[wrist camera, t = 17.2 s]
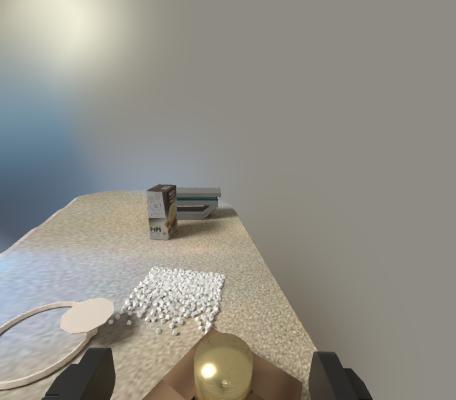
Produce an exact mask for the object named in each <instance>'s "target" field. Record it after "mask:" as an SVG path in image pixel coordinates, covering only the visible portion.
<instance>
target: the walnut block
mask: <svg viewBox="0 0 456 400" xmlns="http://www.w3.org/2000/svg"><path fill="white" fill-rule="evenodd" d="M219 333H220V332H218V331H217V330H215V329H213V328H211V329H210V330H209V331H208V332H207V333H206V334H205V335H204V336H203V337H202V338H201V339H200V340H199V341H198V342H197V343H196V344H195V345H194V346H193V348H192V349H191V350H190V351H189V352H188V353H187V354H186V355H185V356H184V357H183V358H182V359H181V360H180V361H179V362H178V363H177V364H176V365H175V366H174V367H173V368H172V369H171V370H170V371H169V372H168V373H167V374H166V375H165V377H164V378H163V379H162V380H161V381H160V382H159V383H158V384H157V385H156V386H155V387H154V388H153V389H152V390H151V391H150V392H149V393H148V394H147V395H146V396H145V397H144V398H143V399H142V400H195V384H194V356H195V352H196V350H197V348H198V346H199V345H200V343H201V342H202V341H203V340H205V339H206V338H208V337H209V336H212V335H214V334H219ZM252 356H253V368H252V381H251V394H250V400H300V396H301V390H302V384H303V383H302V382H300V381H299V380H297V379H296V378H294V377H292V376H291V375H289V374H287V373H286V372H284V371H282V370H281V369H279V368H277V367H276V366H274V365H273V364H271V363H269V362H268V361H266V360H264V359H263V358H261V357H259V356H258V355H256V354H254V353H253V352H252Z"/></svg>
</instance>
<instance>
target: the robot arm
mask: <svg viewBox="0 0 456 400" xmlns="http://www.w3.org/2000/svg"><path fill="white" fill-rule="evenodd" d="M114 385H115V369H114V362H113V356H112V350H111V348H89V349H88V350H87V351H86V353H85V354H84V356H83V357H82V359H81V361H80V362H79V364H71V365H70V366H68V367H67V368H66V369H65V370H64V371H63V372H62V373H61V374H60V375H59V376H58V377H57V378H56V379H55V380H54V382H53V383H52V385H51V386H50V388H49V389H48V391H47V392H46V394H45V397H44V398H42V400H110V398H111V396H112V393H113V390H114ZM309 390H310V396H311V399H312V400H373V399H372V397H371V395H370V393H369V391H368V390H367V388H366V386H365V384H364V382H363V381H362V380H361V379H360V378H359V377H358V376H357V375H356V373H355V372H354V371H353V370H352V369H350V368H343V367H342V365H341V363H340V361H339V359H338V357H337V355H336V354H335V353H334V352H314V353H313V358H312V364H311V369H310V375H309Z"/></svg>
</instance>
